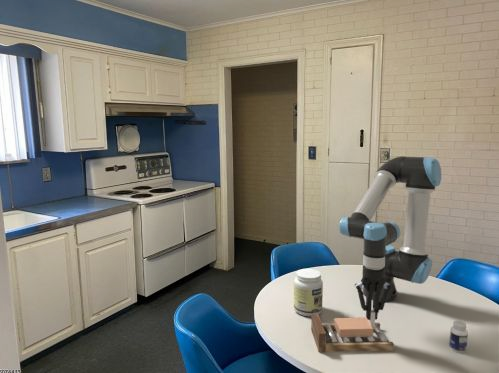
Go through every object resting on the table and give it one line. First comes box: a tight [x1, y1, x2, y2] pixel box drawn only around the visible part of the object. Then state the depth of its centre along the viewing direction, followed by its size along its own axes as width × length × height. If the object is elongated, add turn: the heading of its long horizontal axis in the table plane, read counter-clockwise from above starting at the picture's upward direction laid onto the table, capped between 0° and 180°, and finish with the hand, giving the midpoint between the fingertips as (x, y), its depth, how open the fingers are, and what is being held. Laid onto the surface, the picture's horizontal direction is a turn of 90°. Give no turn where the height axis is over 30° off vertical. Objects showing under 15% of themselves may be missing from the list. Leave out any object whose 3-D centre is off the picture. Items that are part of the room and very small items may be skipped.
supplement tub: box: [293, 268, 324, 317], centre depth 162 cm, size 12×12×17 cm
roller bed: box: [324, 322, 389, 343], centre depth 140 cm, size 11×20×2 cm, turn 91°
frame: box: [310, 313, 395, 353], centre depth 140 cm, size 26×14×7 cm, turn 91°
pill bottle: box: [448, 320, 469, 354], centre depth 133 cm, size 5×5×10 cm
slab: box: [333, 316, 374, 338], centre depth 140 cm, size 12×8×3 cm, turn 91°
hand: (371, 327), depth 140 cm, fingers closed
